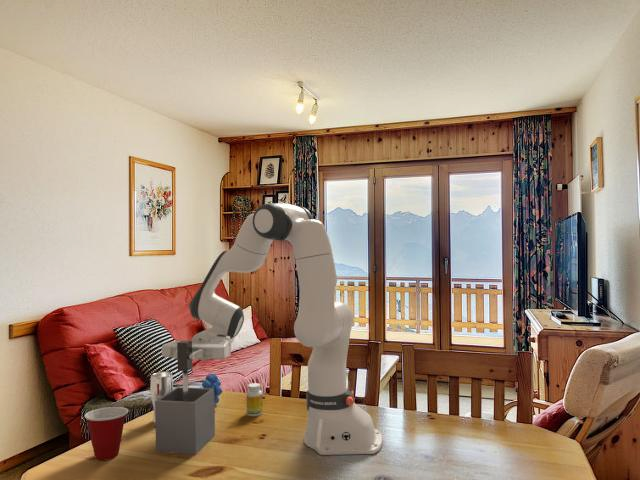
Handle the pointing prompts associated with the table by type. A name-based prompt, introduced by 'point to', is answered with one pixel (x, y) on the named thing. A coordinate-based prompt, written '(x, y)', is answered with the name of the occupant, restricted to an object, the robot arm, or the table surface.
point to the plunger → (184, 364)
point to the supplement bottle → (254, 400)
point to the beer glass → (160, 386)
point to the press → (184, 420)
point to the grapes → (213, 386)
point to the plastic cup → (106, 431)
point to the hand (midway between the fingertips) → (183, 356)
